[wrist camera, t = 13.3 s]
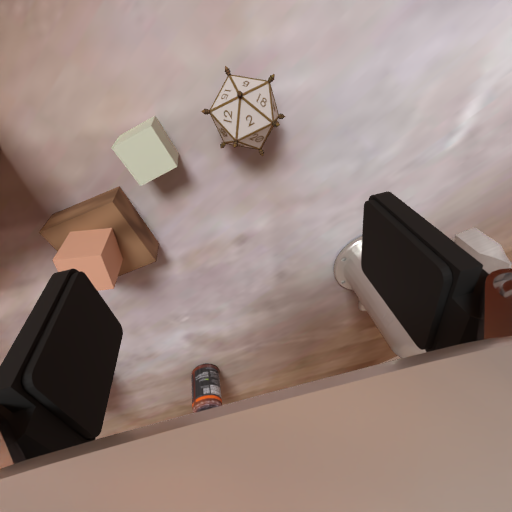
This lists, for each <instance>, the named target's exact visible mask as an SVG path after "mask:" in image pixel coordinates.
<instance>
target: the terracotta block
mask: <svg viewBox="0 0 512 512" xmlns="http://www.w3.org/2000/svg"><path fill="white" fill-rule="evenodd" d="M122 261H123V258H122V255H121V252H120V249H119V246H118V243H117V240H116V237H115V235H114V232H113V229H112V228H105V229H94V230H84V231H73V232H70V233H69V234H68V236H67V238H66V239H65V241H64V242H63V244H62V246H61V247H60V249H59V250H58V252H57V254H56V255H55V257H54V258H53V262H54V264H55V266H56V268H57V270H58V272H61V271H65V270H69V269H76V270H78V271H79V272H80V271H82V272H84V273H85V274H86V275H87V277H88V278H89V280H90V281H91V283H92V284H93V286H94V287H95V288H96V290H97V291H98V290H107V289H114V287H115V284H116V280H117V277H118V274H119V271H120V267H121V264H122Z"/></svg>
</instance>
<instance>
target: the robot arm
mask: <svg viewBox="0 0 512 512" xmlns="http://www.w3.org/2000/svg"><path fill="white" fill-rule="evenodd" d="M482 268H483V264H481V263H480V262H479V261H477V260H476V259H475V258H474V257H472V256H471V255H470V254H469V253H467V252H466V251H465V250H463V249H462V248H461V247H460V246H458V245H457V244H456V243H455V242H453V241H452V240H451V239H449V238H448V237H447V236H446V235H444V234H443V233H442V232H441V231H439V230H438V229H437V228H435V227H434V226H433V225H432V224H430V223H429V222H428V221H427V220H425V219H424V218H423V217H421V216H420V215H419V214H418V213H416V212H415V211H414V210H413V209H411V208H410V207H409V206H407V205H406V204H405V203H404V202H402V201H401V200H400V199H399V198H397V197H396V196H395V195H393V194H392V193H391V192H384V193H380V194H376V195H371V196H370V198H369V201H366V202H365V204H364V217H363V235H362V236H361V237H359V238H357V239H355V240H353V241H352V242H351V243H349V244H348V245H347V246H346V247H345V248H344V249H343V250H342V251H341V252H340V254H339V255H338V257H337V259H336V261H335V264H334V275H335V278H336V279H337V281H338V283H339V284H340V285H341V286H343V287H344V288H346V289H350V290H353V291H354V292H355V294H356V295H357V297H358V298H359V305H358V308H359V309H360V310H361V311H367V312H368V314H369V315H370V317H371V319H372V320H373V322H374V323H375V325H376V326H377V328H378V330H379V331H380V333H381V334H382V336H383V337H384V339H385V340H386V342H387V344H388V345H389V347H390V348H391V349H392V351H393V352H394V353H395V354H396V355H398V356H399V357H400V358H401V359H397V360H393V361H389V362H385V363H382V364H378V365H374V366H370V367H366V368H362V369H359V370H355V371H351V372H347V373H343V374H339V375H336V376H332V377H328V378H324V379H320V380H316V381H313V382H309V383H305V384H301V385H297V386H294V387H290V388H286V389H282V390H279V391H275V392H271V393H267V394H264V395H260V396H256V397H252V398H248V399H245V400H241V401H237V402H233V403H230V404H226V405H222V406H219V407H215V408H211V409H207V410H204V411H200V412H196V413H192V414H189V415H185V416H181V417H178V418H174V419H170V420H167V421H163V422H159V423H156V424H152V425H148V426H144V427H141V428H137V429H133V430H130V431H126V432H122V433H119V434H115V435H111V436H108V437H104V438H100V439H97V440H95V437H97V436H98V435H99V434H100V432H101V429H102V425H103V420H104V416H105V411H106V407H107V402H108V398H109V394H110V389H111V385H112V380H113V376H114V371H115V367H116V362H117V358H118V353H119V349H120V344H121V340H122V335H123V331H122V327H121V324H120V323H119V321H118V320H117V319H116V317H115V316H114V314H113V313H112V311H111V310H110V308H109V307H108V306H107V304H106V303H105V301H104V300H103V298H102V297H101V296H100V294H99V293H98V291H97V290H96V288H95V287H94V286H93V284H92V283H91V281H90V280H89V278H88V277H87V275H86V274H85V273H84V272H82V271H80V272H79V271H78V270H76V269H69V270H65V271H61V272H57V273H54V274H53V275H52V276H51V278H50V280H49V282H48V283H47V285H46V287H45V289H44V291H43V292H42V294H41V296H40V298H39V299H38V301H37V303H36V305H35V306H34V308H33V310H32V312H31V313H30V315H29V317H28V319H27V320H26V322H25V324H24V326H23V327H22V329H21V331H20V333H19V334H18V336H17V338H16V340H15V341H14V343H13V345H12V347H11V348H10V350H9V352H8V354H7V355H6V357H5V359H4V361H3V362H2V364H1V366H0V512H512V268H507V269H499V270H496V271H493V272H491V273H490V274H489V273H487V272H486V271H485V270H484V269H482Z"/></svg>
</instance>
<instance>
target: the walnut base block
mask: <svg viewBox="0 0 512 512" xmlns="http://www.w3.org/2000/svg"><path fill="white" fill-rule="evenodd" d="M105 228H112V229H113V232H114V235H115V237H116V240H117V243H118V246H119V249H120V252H121V255H122V258H123V261H122V264H121V267H120V271H119V274H118V276H121V275H123V274H126V273H128V272H131V271H133V270H136V269H138V268H141V267H143V266H146V265H148V264H151V263H153V262H156V259H157V252H158V245H159V243H158V241H157V240H156V238H155V237H154V235H153V234H152V233H151V231H150V230H149V228H148V227H147V225H146V224H145V222H144V221H143V220H142V218H141V217H140V215H139V214H138V212H137V211H136V209H135V208H134V207H133V205H132V204H131V202H130V201H129V199H128V198H127V196H126V195H125V194H124V192H123V191H122V189H121V188H120V186H119V187H117V188H114V189H112V190H110V191H107V192H105V193H103V194H100V195H98V196H95V197H93V198H91V199H88V200H86V201H83V202H81V203H79V204H76V205H74V206H71V207H69V208H67V209H64V210H62V211H60V212H57V213H55V214H53V215H52V216H51V217H50V219H49V220H48V221H47V223H46V224H45V225H44V227H43V228H42V229H41V231H40V232H39V233H40V234H41V235H42V236H43V237H44V238H45V239H46V240H47V241H48V242H49V243H50V244H51V245H52V246H53V247H54V248H55V249H56V250H57V251H58V250H59V249H60V247H61V246H62V244H63V242H64V241H65V239H66V238H67V236H68V234H69V233H70V232H73V231H84V230H94V229H105Z"/></svg>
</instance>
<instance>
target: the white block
mask: <svg viewBox="0 0 512 512" xmlns="http://www.w3.org/2000/svg"><path fill="white" fill-rule="evenodd" d="M455 243H456V244H457V245H458V246H460V247H461V248H462V249H463V250H465V251H466V252H467V253H469V254H470V255H471V256H472V257H474V258H475V259H476V260H477V261H479V262H480V263H481V264H483V268H482V269H484V270H485V271H486V272H487V273H489V274H490V273H491V272H493V271H496V270H499V269H507V268H511V264H512V263H511V262H510V261H509V259H508V258H507V256H506V255H505V253H504V251H503V248H502V246H501V245H500V244H499V243H497V242H496V241H494V240H493V239H491V238H490V237H488V236H487V235H485V234H484V233H482V232H481V231H480V230H478V229H477V228H475V227H474V228H472V229H469V230H467V231H464V232H462V233H459V234H457V235H455Z"/></svg>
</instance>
